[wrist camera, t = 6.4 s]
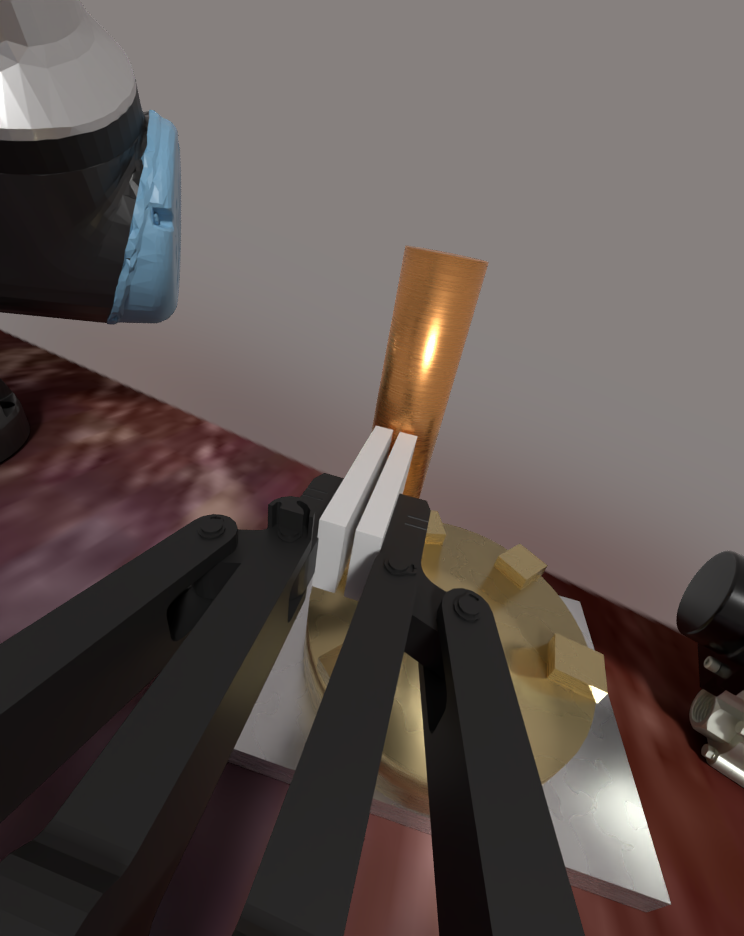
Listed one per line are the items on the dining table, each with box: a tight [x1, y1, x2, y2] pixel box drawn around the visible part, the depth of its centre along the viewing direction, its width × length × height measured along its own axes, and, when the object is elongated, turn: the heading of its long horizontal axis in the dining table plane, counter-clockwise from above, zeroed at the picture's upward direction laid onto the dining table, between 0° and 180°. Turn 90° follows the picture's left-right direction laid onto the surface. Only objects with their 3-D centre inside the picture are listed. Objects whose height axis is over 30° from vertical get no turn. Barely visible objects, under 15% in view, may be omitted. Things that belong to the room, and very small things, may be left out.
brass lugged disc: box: [304, 246, 607, 816], centre depth 15 cm, size 14×13×17 cm
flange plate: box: [228, 577, 671, 912], centre depth 20 cm, size 18×13×2 cm
